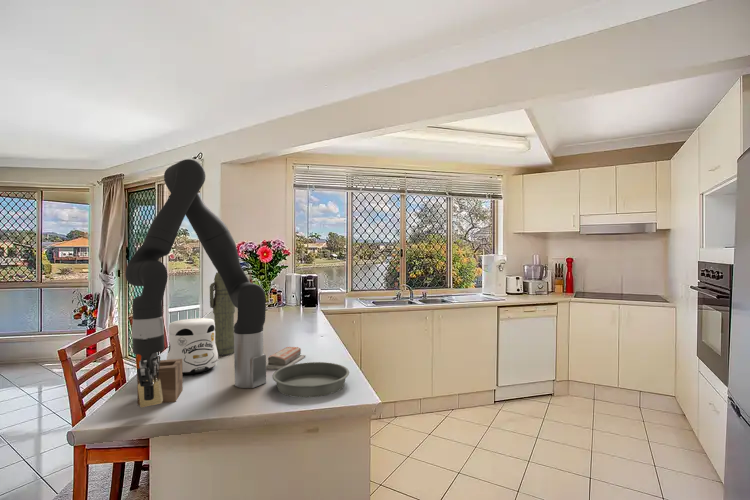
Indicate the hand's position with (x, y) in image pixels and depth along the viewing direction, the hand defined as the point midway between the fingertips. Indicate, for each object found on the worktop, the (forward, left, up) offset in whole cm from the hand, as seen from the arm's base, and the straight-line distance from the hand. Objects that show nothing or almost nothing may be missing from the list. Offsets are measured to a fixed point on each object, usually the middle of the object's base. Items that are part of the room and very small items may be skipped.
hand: (150, 397), depth 111 cm
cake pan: (-25, -38, -5) cm, 46 cm away
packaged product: (+1, -55, -5) cm, 56 cm away
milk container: (+24, -32, -5) cm, 41 cm away
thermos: (+33, -55, -5) cm, 65 cm away
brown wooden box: (+9, -9, -5) cm, 14 cm away
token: (0, 0, -2) cm, 2 cm away
